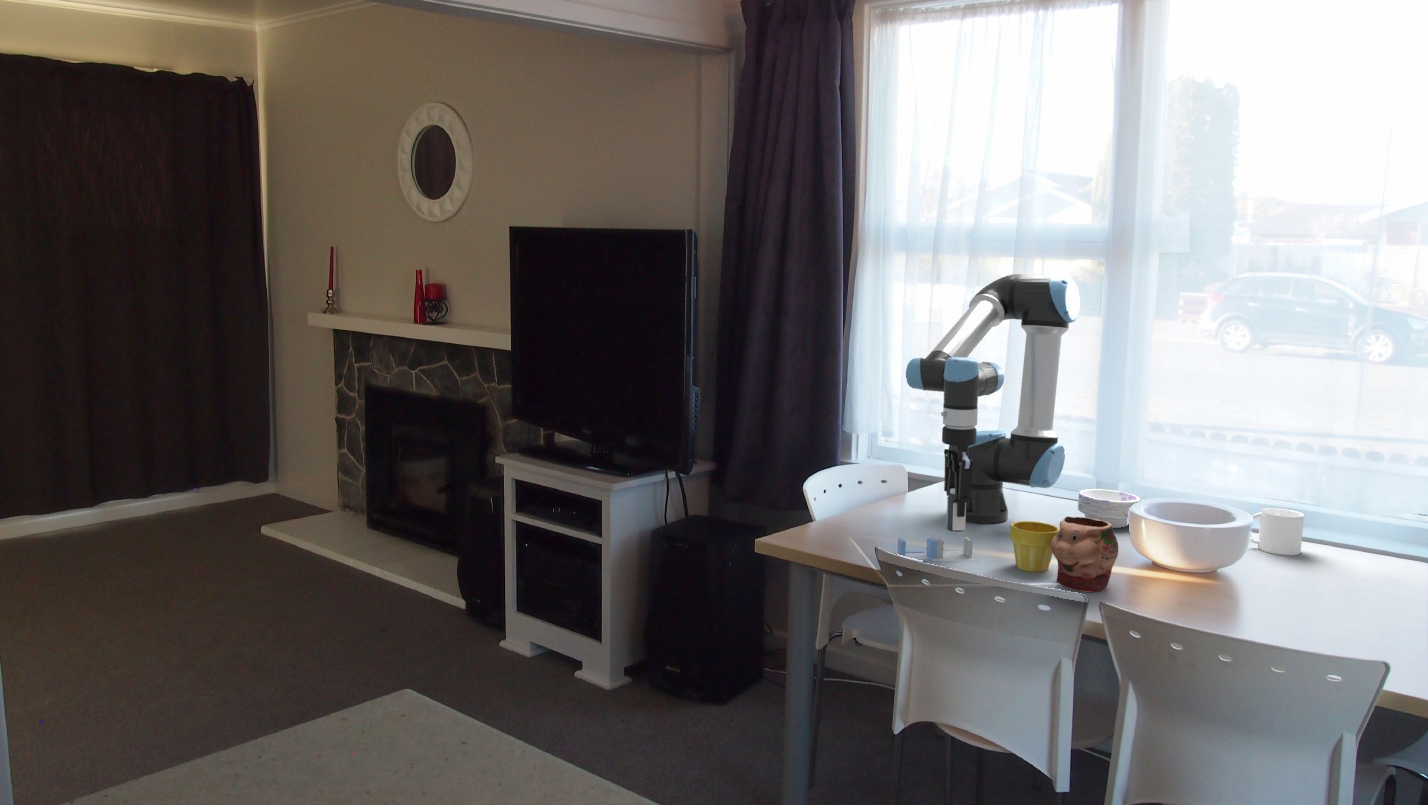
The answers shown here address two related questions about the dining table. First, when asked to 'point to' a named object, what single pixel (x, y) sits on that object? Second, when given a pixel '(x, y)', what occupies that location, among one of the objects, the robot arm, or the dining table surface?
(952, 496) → the dark gray cylinder
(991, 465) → the robot arm
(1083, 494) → the paper bowls
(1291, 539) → the mug
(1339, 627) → the dining table surface
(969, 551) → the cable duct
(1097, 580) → the decorative planter
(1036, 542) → the plant pot
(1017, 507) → the dining table surface
